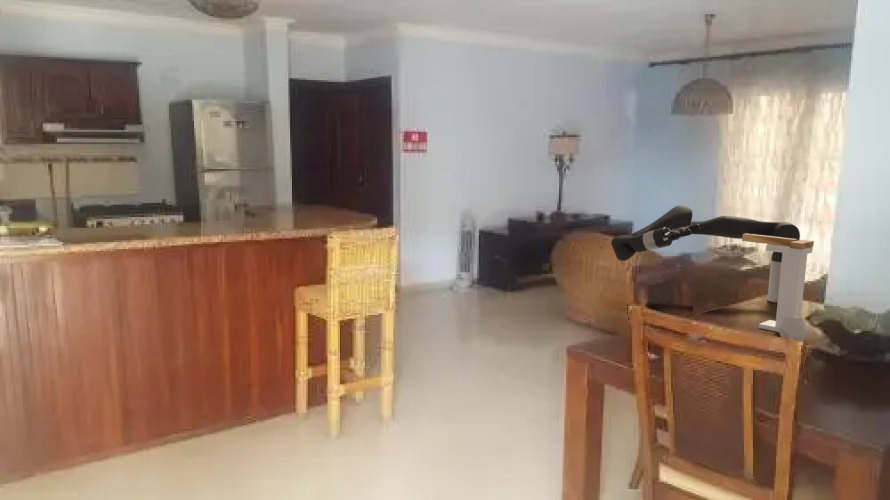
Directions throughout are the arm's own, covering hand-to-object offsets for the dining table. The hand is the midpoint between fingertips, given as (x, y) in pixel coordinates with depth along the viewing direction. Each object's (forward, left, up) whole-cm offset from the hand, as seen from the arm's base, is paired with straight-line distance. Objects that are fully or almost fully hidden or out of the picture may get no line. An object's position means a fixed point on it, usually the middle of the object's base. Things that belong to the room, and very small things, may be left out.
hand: (695, 229), depth 261 cm
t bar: (-2, +30, -2) cm, 30 cm away
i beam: (-2, +34, -32) cm, 47 cm away
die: (+12, +43, -33) cm, 56 cm away
